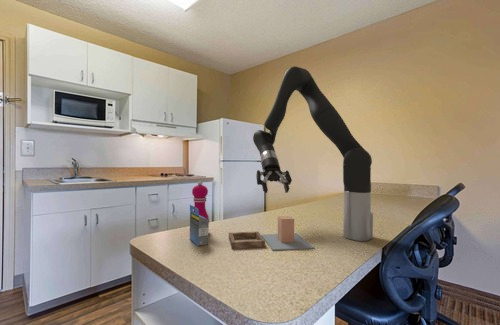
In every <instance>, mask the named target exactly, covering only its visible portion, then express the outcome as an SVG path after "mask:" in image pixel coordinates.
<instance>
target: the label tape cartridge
mask: <svg viewBox="0 0 500 325" xmlns="http://www.w3.org/2000/svg"><path fill="white" fill-rule="evenodd" d="M194 210H195V211H196V212H194ZM209 224H210V219H209V220H208V219H206V218H204V217H202V216H200V215H199V211H198V208H196V207H194V205H192V204H189V240H190V241H192V242H193V243H194V244H195V245H196V246H197V247H201V246H207V245H209Z"/></svg>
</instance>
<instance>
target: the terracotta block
mask: <svg viewBox="0 0 500 325" xmlns="http://www.w3.org/2000/svg"><path fill="white" fill-rule="evenodd" d="M294 233H295V218H294V217H292V216H291V215H278V216H277V234H278V240H279V241H280V242H281V243H285V242H294Z"/></svg>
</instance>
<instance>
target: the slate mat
mask: <svg viewBox="0 0 500 325" xmlns="http://www.w3.org/2000/svg"><path fill="white" fill-rule="evenodd" d="M260 235H261V236H262V237H263V239H264V240H265V244H267V245H268V246H269V248H270V250H271V251H273V252H274V251H293V250H295V251H296V250H312V249H315V246H313V245H312V244H311V243H309V242H308V241H307V240H306V239H304V238H303V237H302V236H301V235H300V234H298V233H297V232H294V242H285V243H281V242H280V241H279V240H278V233H265V234H264V233H263V234H262V233H260Z"/></svg>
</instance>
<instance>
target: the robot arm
mask: <svg viewBox="0 0 500 325" xmlns="http://www.w3.org/2000/svg"><path fill="white" fill-rule="evenodd" d="M295 91H297V92H298V93H299V94H300V95H301V96H302V98H304V99H305V101H306V104H308V110H309V112H310V113H309V114H310V116H311V119H312V120H313V121H314V123H315V125H316V126H317V127H318V129H319V130H320V131H321V132H322V133H323V135H324V136H326V138H327V139H328V140H329V141H330V142H331V143H333V145H334V146H335V147H336V148H337V149H338V150H339V152H340V154H341V155H342V157H343V161H342V163H343V164H342V181H343V229H342V230H343V233H342V234H343V237H344V238H346V239H347V240H348V239H349V240H352V241H357V242H360V241H361V242H366V241H370V240H373V239H374V238H373V237H374V236H373V235H374V234H373V232H374V213H373V212H372V208H371V205H372V204H371V202H372V201H371V200H372V198H371V197H372V183H371V180H372V178H371V176H372V175H371V174H372V172H371V170H372V162H373V160H372V155H371V154H370V153H369V152H368V151H367V150H366V149H365V148H364V147H363V146H362V145H361V143H359V142H358V140H356V138H355V137H354V135H353V134H352V133H351V131H350V129H349V127H348V126H347V124H346V122H345V120H344V119H343V117H342V116H341V114H340V113H339V112H338V110H337V109H336V108H335V107H334V105H333V104H332V103H331V102H330V100H329V99H328V98H327V97H326V96H325V94H324V92H322V91H321V89H320V88H319V86H318V85H317V83H316V81H315V79H314V77H313V76H312V74H311V73H310V71H309V70H307V69H306V68H303V67H299V66H290V67H289V68H288V69H286V71H285V73H284V75H283V77H282V79H281V83H280V87H279V89H278V91H277V93H276V94H277V95H276V97H275V101H274V103H273V105H272V107H271V109H270V112H269V113H268V115H267V117H266V119H265V121H264V123H263V126H264V128H266V129H267V130H269V132H268V131H265V130H262V129H258V130H256V131H254V133H253V135H252V136H253V137H252V140H253V144H254V145H255V148H257V150H258V152H259V156H260V164H261V168H262V171H261V170H259V169H257V170H256V174H255V175H256V176H255V177H256V184H257V186H261V187H262V191H263V192H264V193H265V194H267V193H268V185H267V183H268V182H277V183H279V184H281V185H283V189H284V191H285V192H284V193H287V194H288V193H289V191H290V186H289V185H291V183H292V182H293V179H292V177H291V174H290V171H289V170H285V171H282V169H281V166H280V162H279V159H278V156H277V154H276V150H275V146H274V144H275V142H276V137H277V133H278V131H279V128H280V126H281V124H282V123H283V121H284V119H285V116H286V113H287V106H288V103H289V100H290V99H291V96H292V95H293V93H294V92H295ZM262 177H264V178H263V180H262Z"/></svg>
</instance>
